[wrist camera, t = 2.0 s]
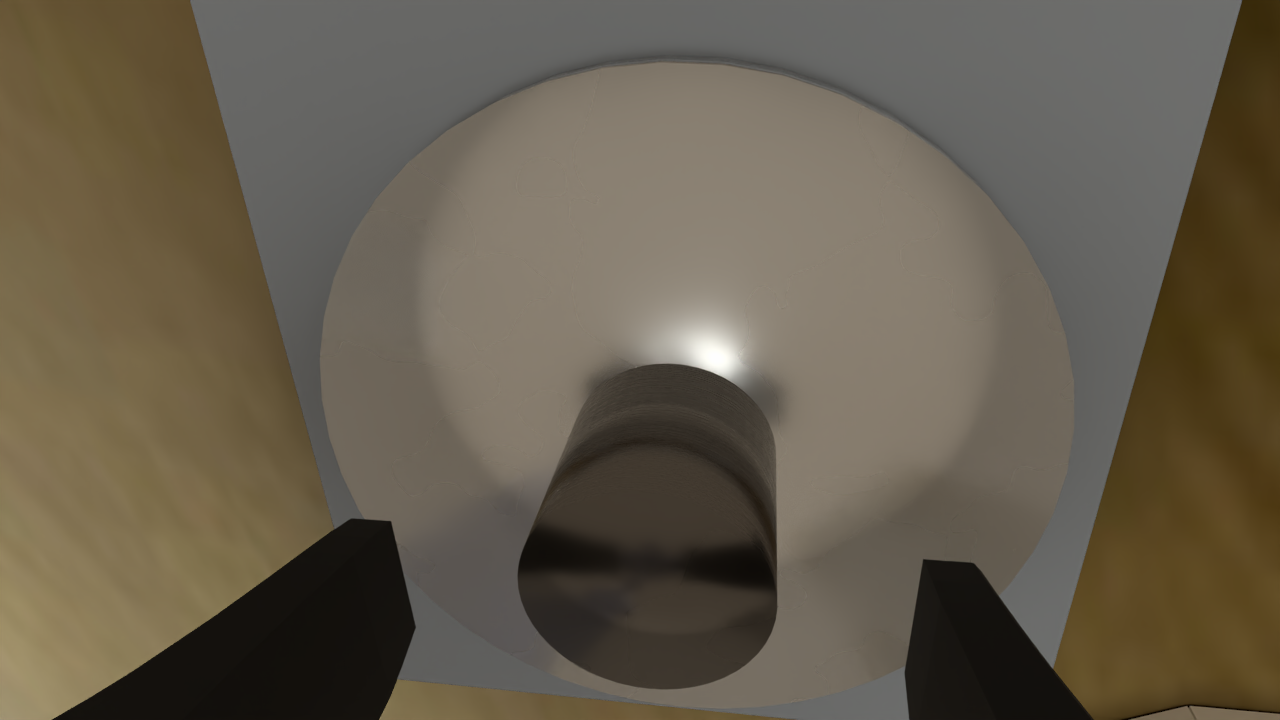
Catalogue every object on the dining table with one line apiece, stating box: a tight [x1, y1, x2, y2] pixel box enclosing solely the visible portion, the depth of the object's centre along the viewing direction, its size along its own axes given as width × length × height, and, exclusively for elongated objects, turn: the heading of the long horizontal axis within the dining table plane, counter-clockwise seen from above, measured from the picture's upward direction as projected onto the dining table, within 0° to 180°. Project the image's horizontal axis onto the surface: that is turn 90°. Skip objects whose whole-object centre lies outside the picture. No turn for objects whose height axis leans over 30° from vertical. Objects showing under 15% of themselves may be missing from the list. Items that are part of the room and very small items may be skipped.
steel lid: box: [320, 56, 1074, 709], centre depth 13 cm, size 13×13×4 cm
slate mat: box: [190, 0, 1242, 720], centre depth 15 cm, size 15×15×1 cm
